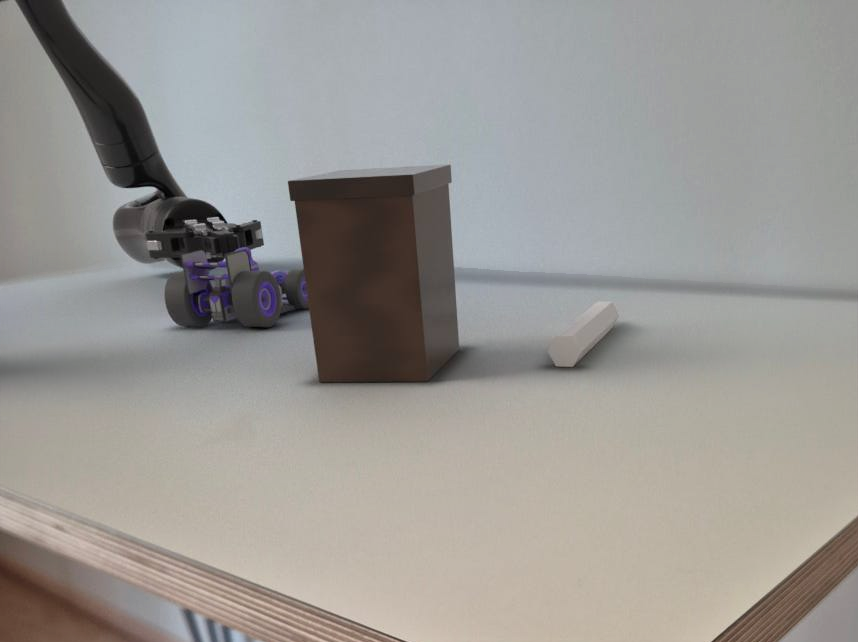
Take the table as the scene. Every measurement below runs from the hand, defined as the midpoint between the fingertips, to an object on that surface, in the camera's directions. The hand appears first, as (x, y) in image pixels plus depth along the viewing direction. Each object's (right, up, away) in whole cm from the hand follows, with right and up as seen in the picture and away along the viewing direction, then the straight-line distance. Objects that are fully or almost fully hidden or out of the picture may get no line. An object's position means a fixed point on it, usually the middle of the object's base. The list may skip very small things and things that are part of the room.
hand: (228, 245), depth 96 cm
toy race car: (+3, -8, -2) cm, 9 cm away
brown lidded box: (+18, -19, -24) cm, 36 cm away
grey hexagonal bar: (+34, -16, -21) cm, 43 cm away
